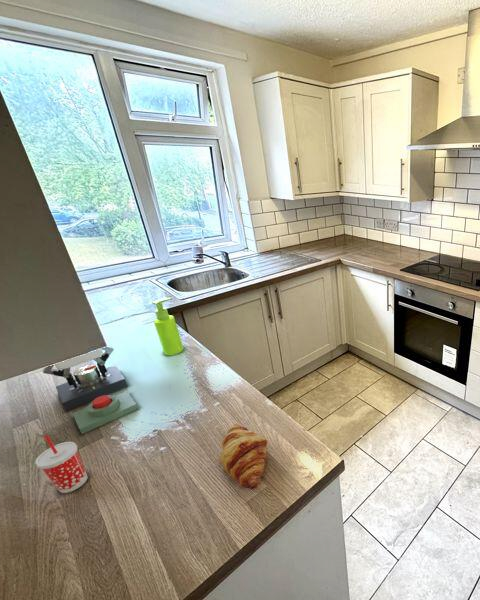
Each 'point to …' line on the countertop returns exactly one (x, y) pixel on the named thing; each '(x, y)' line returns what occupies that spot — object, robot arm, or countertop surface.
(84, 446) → the countertop surface
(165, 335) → the soap dispenser
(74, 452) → the beverage cup
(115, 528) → the countertop surface
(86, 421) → the button block
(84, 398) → the dial panel
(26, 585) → the countertop surface
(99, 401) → the button
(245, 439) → the croissant
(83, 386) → the dial
